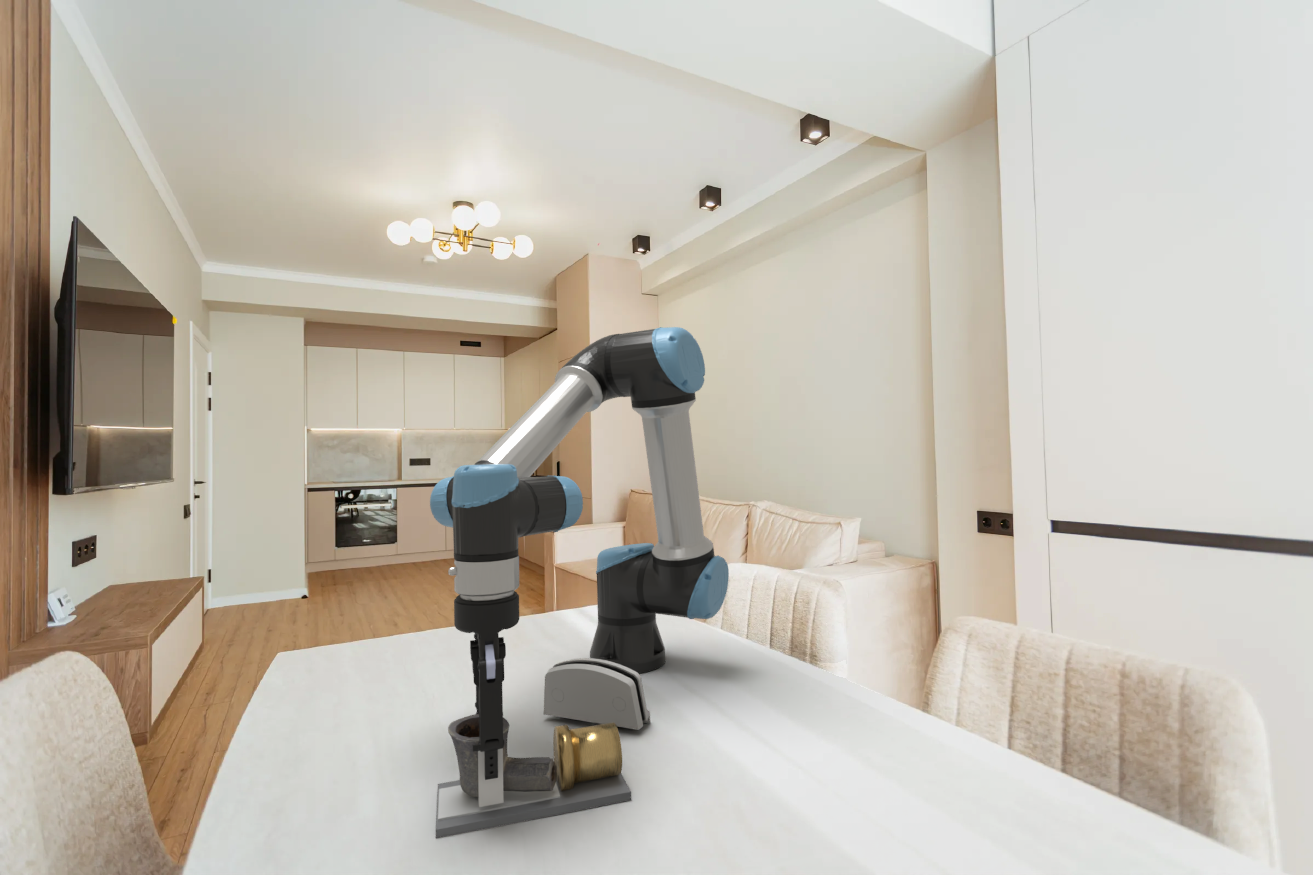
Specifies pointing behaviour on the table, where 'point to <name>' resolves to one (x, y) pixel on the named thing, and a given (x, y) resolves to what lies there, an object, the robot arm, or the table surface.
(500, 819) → the base
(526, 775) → the pipe
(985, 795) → the table surface
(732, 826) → the table surface
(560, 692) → the grey napkin holder
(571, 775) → the cylinder
